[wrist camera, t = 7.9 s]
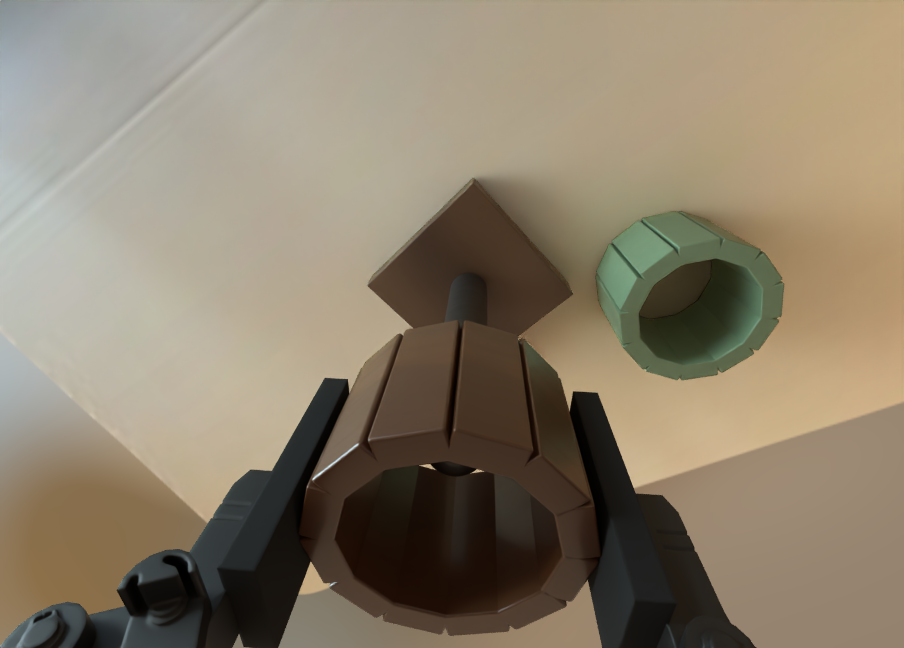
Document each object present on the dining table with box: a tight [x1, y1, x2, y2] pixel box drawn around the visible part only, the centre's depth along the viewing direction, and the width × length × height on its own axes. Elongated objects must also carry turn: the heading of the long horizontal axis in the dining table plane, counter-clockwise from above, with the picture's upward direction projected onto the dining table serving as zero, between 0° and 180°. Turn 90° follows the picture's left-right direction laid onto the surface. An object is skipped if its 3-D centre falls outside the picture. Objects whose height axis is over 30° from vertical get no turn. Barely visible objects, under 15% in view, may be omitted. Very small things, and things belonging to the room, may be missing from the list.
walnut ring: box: [298, 320, 602, 636], centre depth 13 cm, size 7×7×5 cm
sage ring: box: [596, 211, 784, 380], centre depth 23 cm, size 7×7×5 cm
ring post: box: [367, 178, 573, 477], centre depth 19 cm, size 8×8×14 cm
